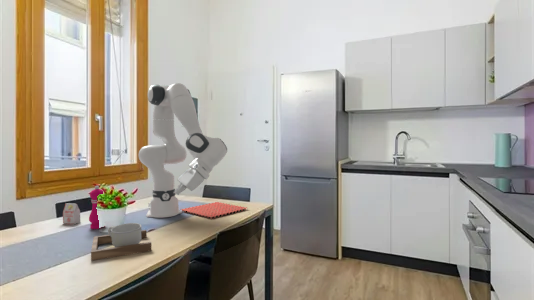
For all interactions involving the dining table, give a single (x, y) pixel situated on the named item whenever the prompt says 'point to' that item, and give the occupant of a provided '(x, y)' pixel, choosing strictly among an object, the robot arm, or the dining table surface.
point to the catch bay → (119, 250)
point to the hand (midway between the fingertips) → (175, 193)
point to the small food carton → (71, 214)
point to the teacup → (125, 234)
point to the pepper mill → (94, 208)
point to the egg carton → (213, 209)
